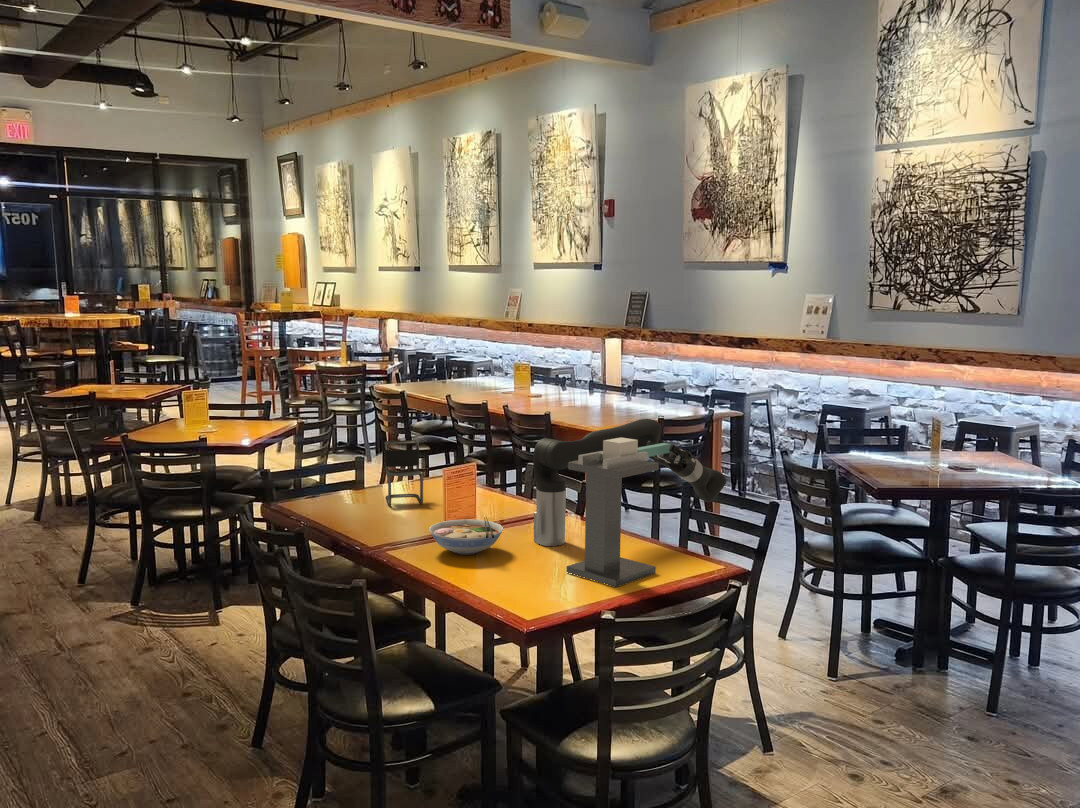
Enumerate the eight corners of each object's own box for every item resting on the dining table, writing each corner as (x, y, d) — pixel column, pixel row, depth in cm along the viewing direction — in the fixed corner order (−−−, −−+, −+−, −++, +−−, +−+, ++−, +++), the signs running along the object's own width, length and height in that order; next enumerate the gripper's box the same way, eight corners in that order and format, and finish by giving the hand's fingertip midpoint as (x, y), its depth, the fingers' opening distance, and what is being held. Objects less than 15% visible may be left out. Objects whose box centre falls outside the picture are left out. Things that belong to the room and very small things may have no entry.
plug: (602, 461, 258) (603, 440, 257) (658, 450, 277) (658, 431, 276) (619, 464, 254) (619, 443, 253) (674, 453, 273) (675, 433, 272)
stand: (566, 573, 260) (568, 453, 256) (606, 560, 273) (609, 446, 269) (615, 587, 248) (618, 462, 244) (655, 573, 261) (658, 454, 257)
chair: (418, 495, 357) (418, 439, 354) (423, 505, 340) (423, 447, 338) (384, 497, 354) (384, 440, 351) (388, 507, 337) (387, 448, 335)
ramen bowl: (429, 541, 292) (429, 516, 291) (501, 540, 294) (501, 515, 293) (427, 564, 267) (427, 536, 266) (505, 563, 270) (505, 535, 269)
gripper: (670, 452, 289) (644, 431, 278) (709, 458, 279) (683, 436, 268) (663, 474, 287) (636, 453, 276) (701, 480, 277) (675, 460, 266)
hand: (659, 445), depth 272 cm, fingers open, 8 cm apart
